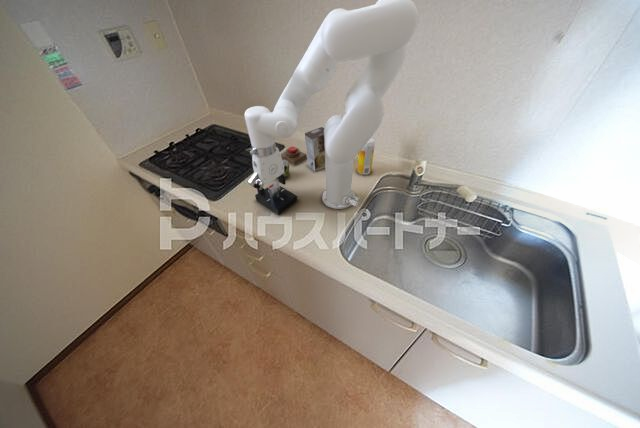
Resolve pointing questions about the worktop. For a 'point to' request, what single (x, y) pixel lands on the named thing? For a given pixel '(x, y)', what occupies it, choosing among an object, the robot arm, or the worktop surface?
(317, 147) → the coffee box
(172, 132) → the worktop surface
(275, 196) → the tap knob
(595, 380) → the worktop surface
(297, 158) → the switch block
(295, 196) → the plate
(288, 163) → the apple
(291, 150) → the drain button
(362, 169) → the beer can
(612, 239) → the worktop surface
